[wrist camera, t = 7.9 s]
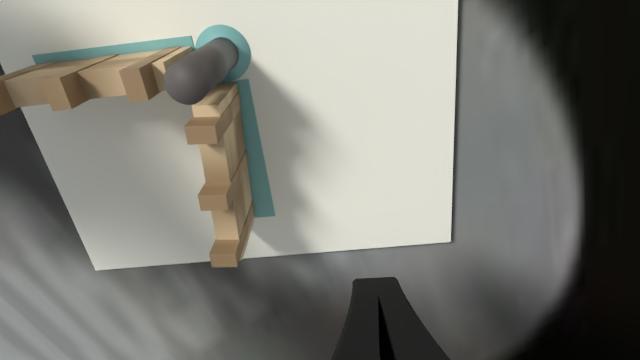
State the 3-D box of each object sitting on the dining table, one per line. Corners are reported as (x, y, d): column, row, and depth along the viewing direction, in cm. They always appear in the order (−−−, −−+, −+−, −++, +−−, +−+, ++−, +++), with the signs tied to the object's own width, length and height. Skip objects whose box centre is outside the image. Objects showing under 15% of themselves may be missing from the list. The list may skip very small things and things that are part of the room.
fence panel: (213, 82, 18) (181, 113, 14) (238, 82, 18) (212, 113, 14) (234, 219, 22) (213, 275, 18) (255, 219, 22) (238, 275, 18)
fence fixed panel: (47, 90, 19) (-44, 130, 14) (34, 59, 18) (-66, 90, 14) (242, 68, 18) (211, 102, 14) (235, 35, 18) (201, 59, 13)
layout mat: (99, 265, 24) (95, 270, 24) (-69, -104, 16) (-79, -106, 16) (448, 237, 23) (450, 242, 22) (460, -187, 14) (464, -192, 14)
